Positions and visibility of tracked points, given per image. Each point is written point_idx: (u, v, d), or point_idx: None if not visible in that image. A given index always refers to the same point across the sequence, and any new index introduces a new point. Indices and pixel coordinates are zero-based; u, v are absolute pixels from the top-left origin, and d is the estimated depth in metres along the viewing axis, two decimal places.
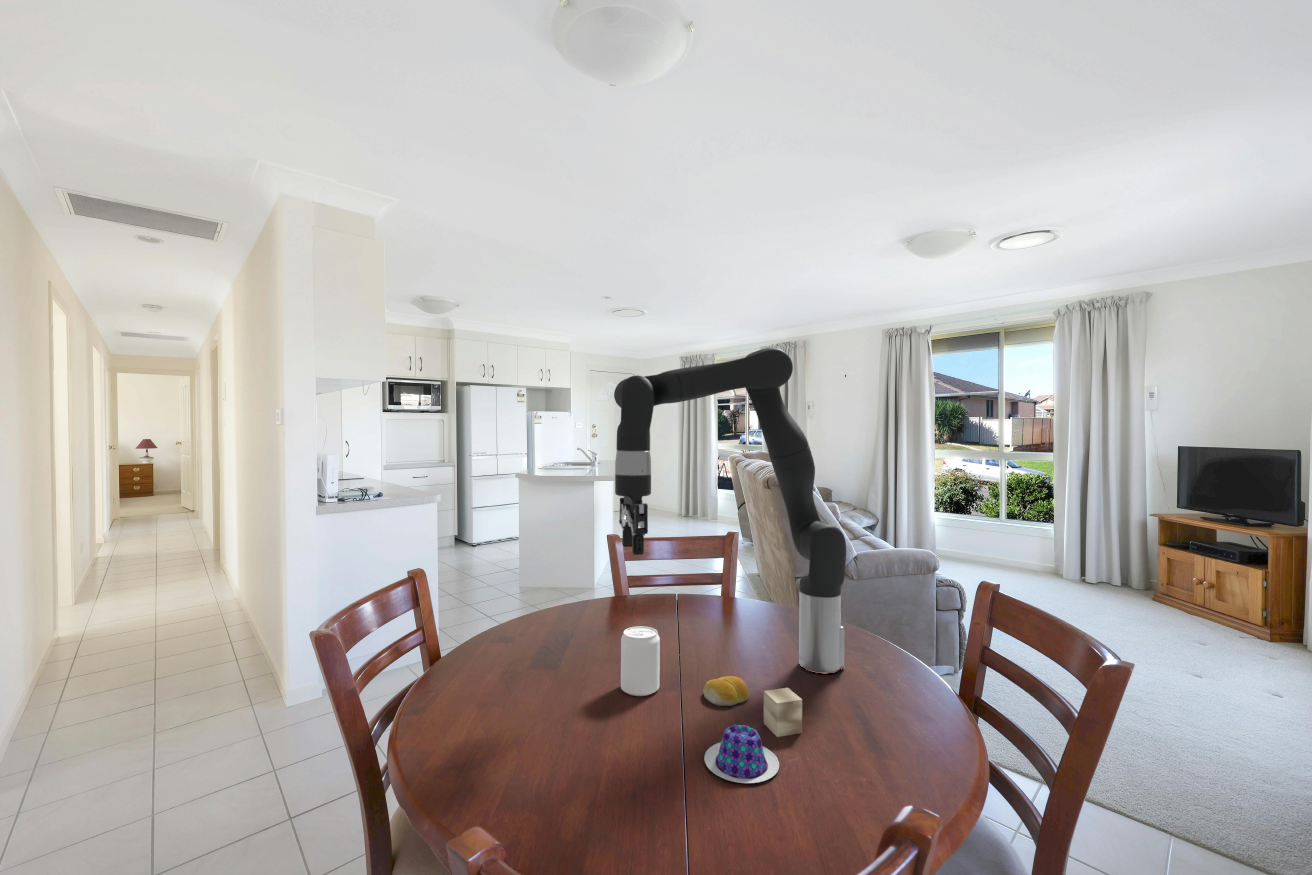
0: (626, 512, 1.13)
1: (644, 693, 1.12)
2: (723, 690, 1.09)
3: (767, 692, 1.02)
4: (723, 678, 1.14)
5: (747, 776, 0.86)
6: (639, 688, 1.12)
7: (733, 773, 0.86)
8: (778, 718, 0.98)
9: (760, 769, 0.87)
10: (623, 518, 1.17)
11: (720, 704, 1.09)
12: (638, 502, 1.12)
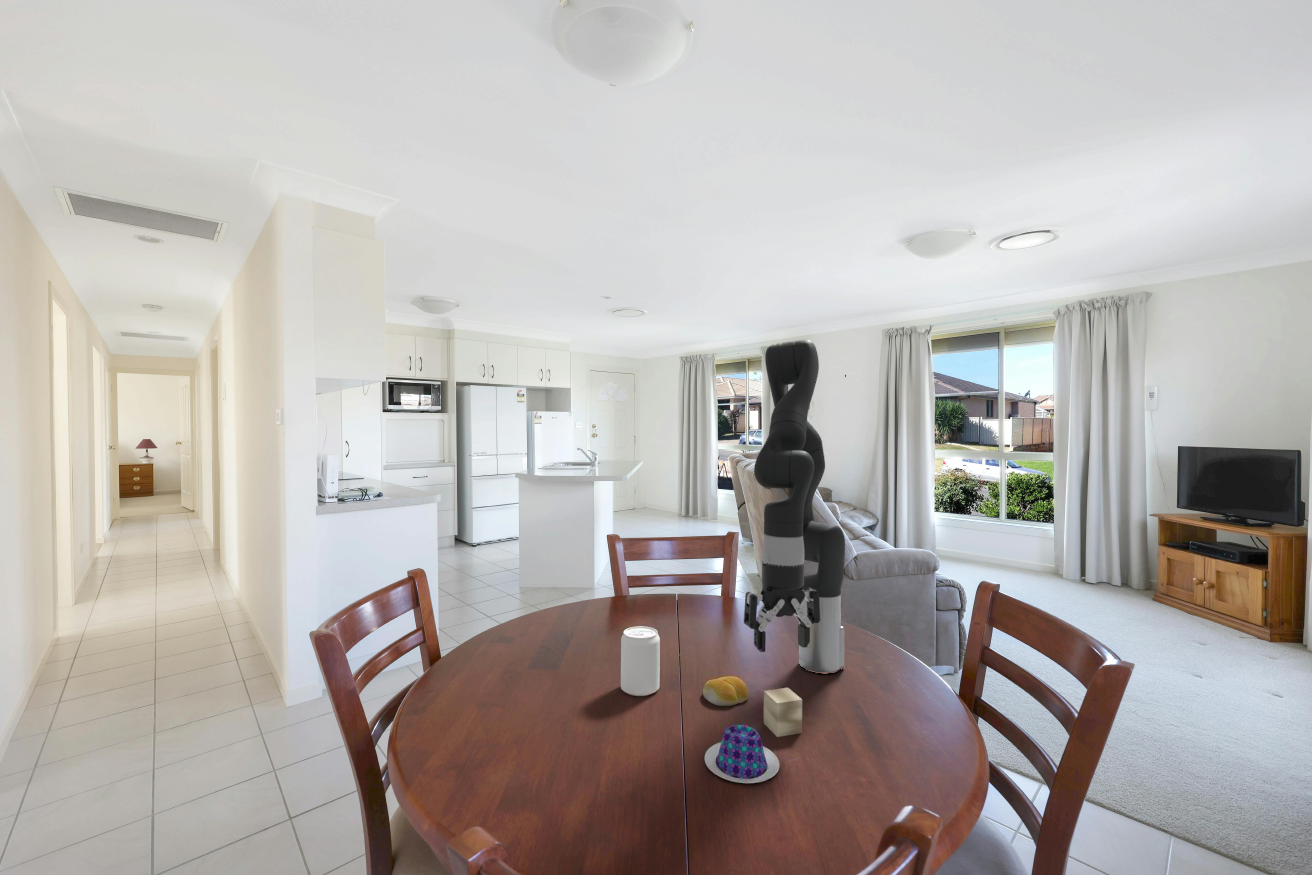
0: (796, 605, 1.00)
1: (644, 693, 1.12)
2: (723, 690, 1.09)
3: (767, 692, 1.02)
4: (723, 678, 1.14)
5: (748, 776, 0.86)
6: (639, 688, 1.12)
7: (734, 773, 0.86)
8: (778, 718, 0.98)
9: (761, 768, 0.87)
10: None
11: (719, 704, 1.09)
12: None
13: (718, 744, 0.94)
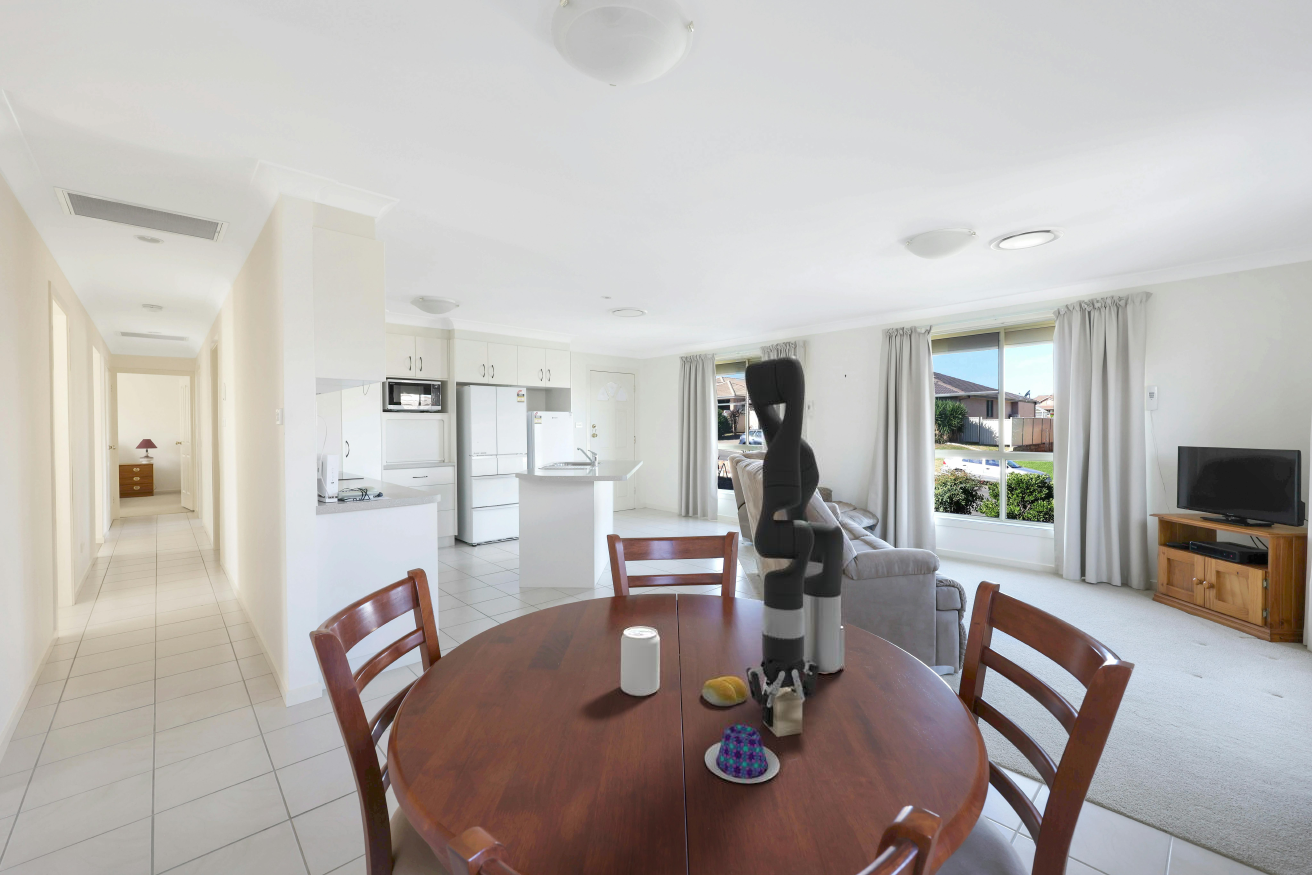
0: (796, 677, 0.99)
1: (644, 693, 1.12)
2: (722, 690, 1.09)
3: None
4: (722, 678, 1.14)
5: (750, 776, 0.86)
6: (639, 688, 1.12)
7: (736, 774, 0.86)
8: (778, 718, 0.98)
9: (762, 768, 0.87)
10: None
11: (719, 704, 1.09)
12: None
13: (717, 744, 0.94)
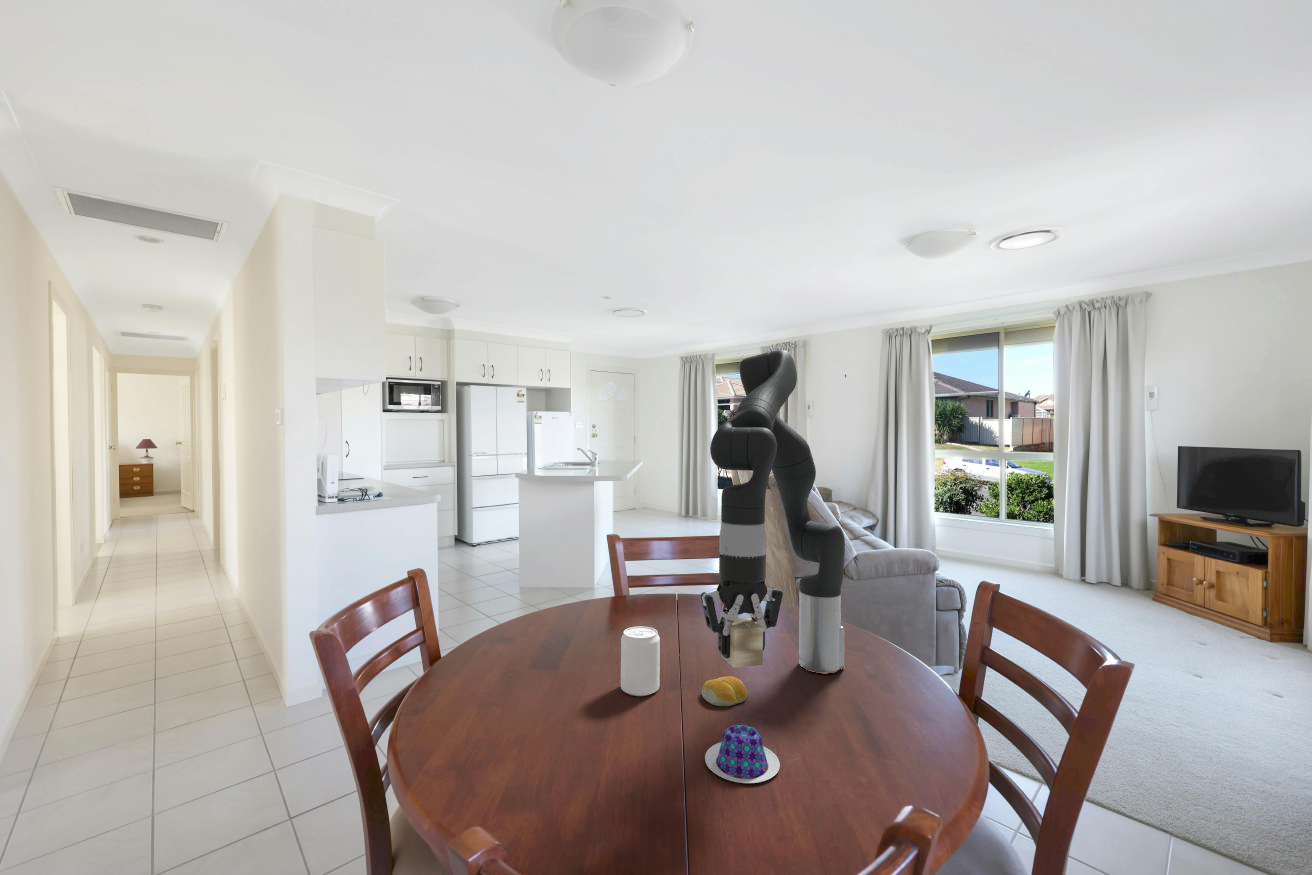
0: (756, 602, 0.89)
1: (644, 693, 1.12)
2: (721, 690, 1.09)
3: None
4: (721, 678, 1.14)
5: (751, 776, 0.86)
6: (639, 688, 1.12)
7: (737, 774, 0.86)
8: (735, 647, 0.87)
9: (763, 767, 0.87)
10: None
11: (718, 704, 1.09)
12: None
13: (716, 745, 0.94)
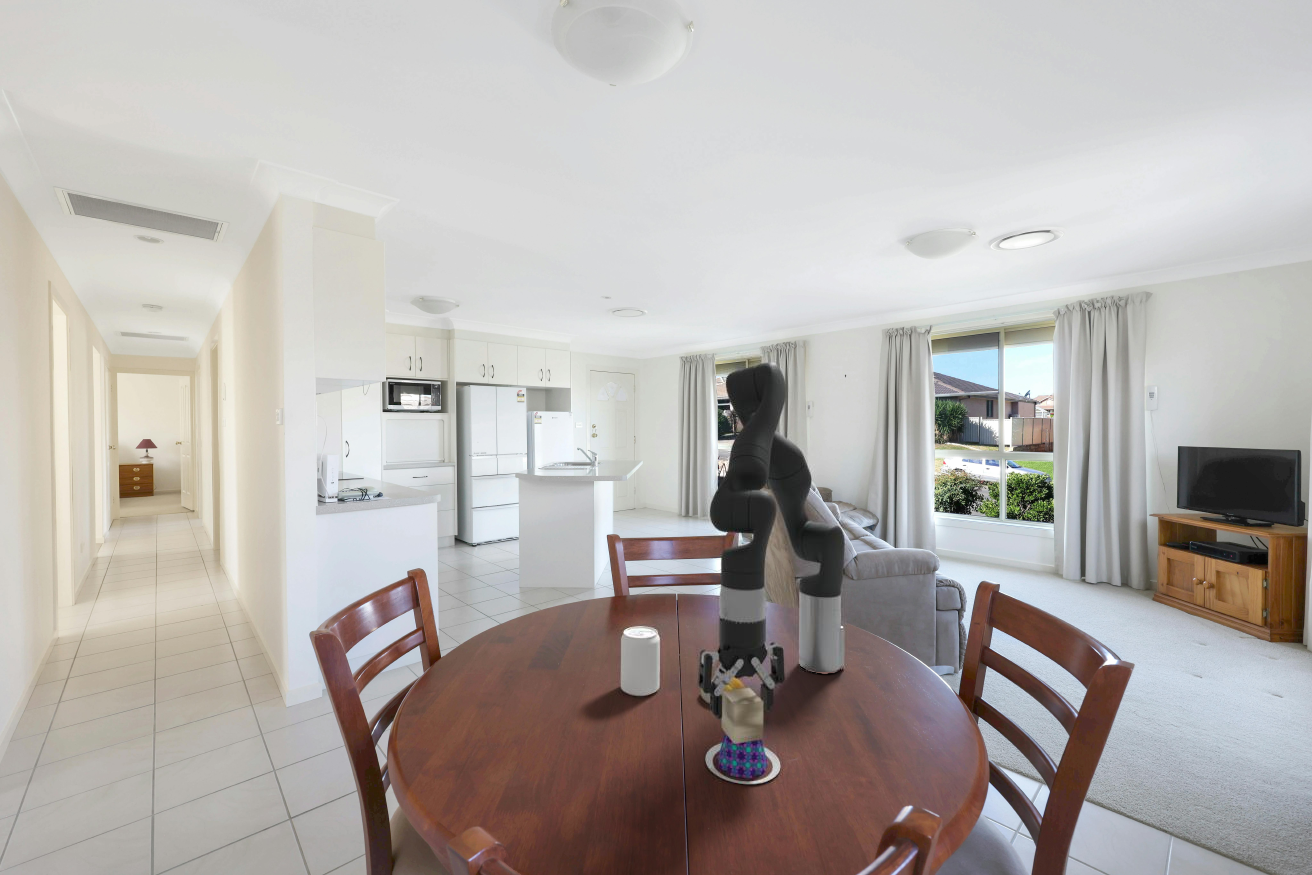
0: (757, 665, 0.88)
1: (644, 693, 1.12)
2: None
3: (725, 693, 0.91)
4: None
5: (753, 776, 0.86)
6: (639, 688, 1.12)
7: (739, 775, 0.86)
8: (735, 722, 0.87)
9: (764, 767, 0.87)
10: None
11: None
12: None
13: (715, 747, 0.94)
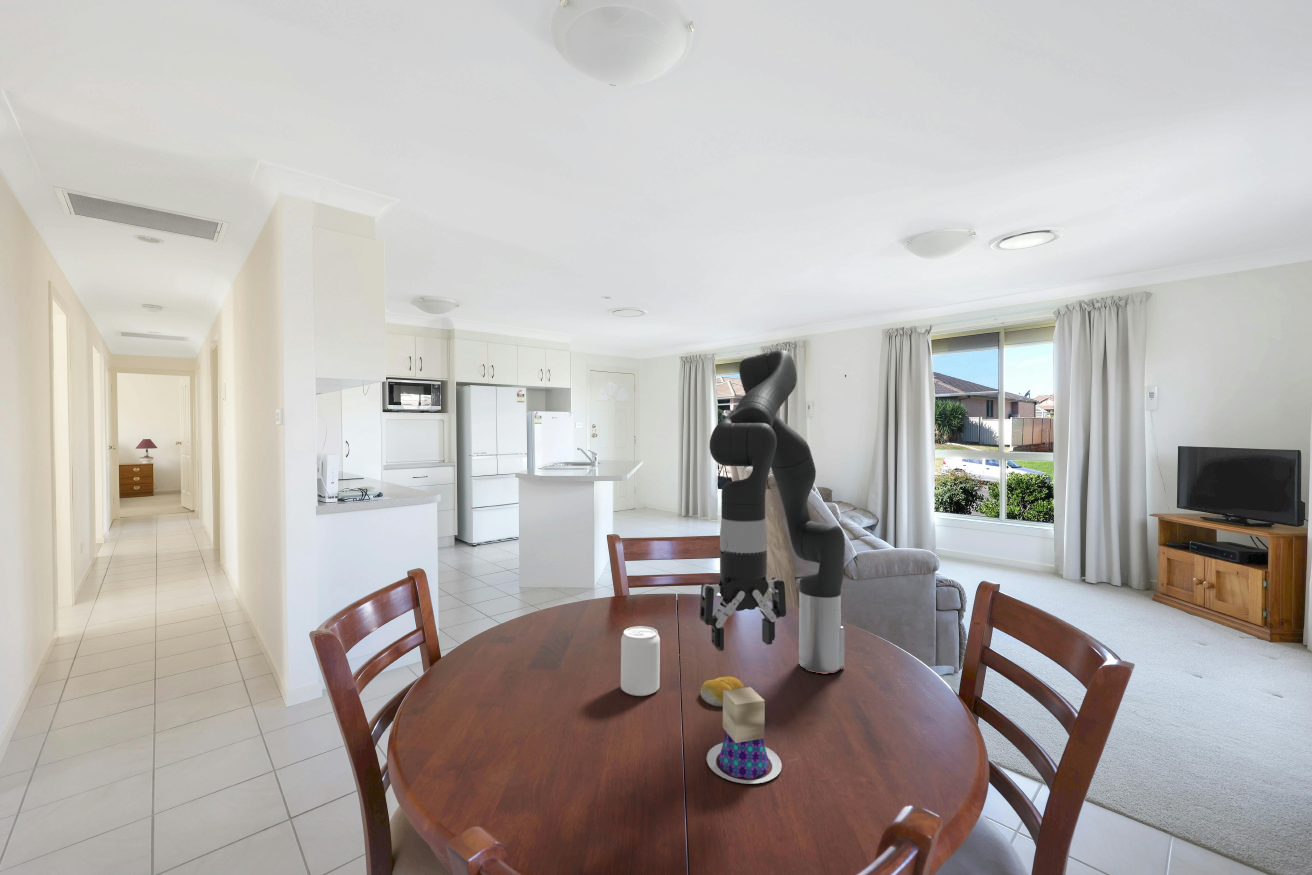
0: (759, 597, 0.88)
1: (644, 693, 1.12)
2: (720, 691, 1.09)
3: (726, 692, 0.91)
4: (720, 679, 1.14)
5: (755, 776, 0.86)
6: (639, 688, 1.12)
7: (741, 775, 0.86)
8: (736, 721, 0.87)
9: (765, 767, 0.87)
10: None
11: (717, 705, 1.09)
12: None
13: (716, 746, 0.94)
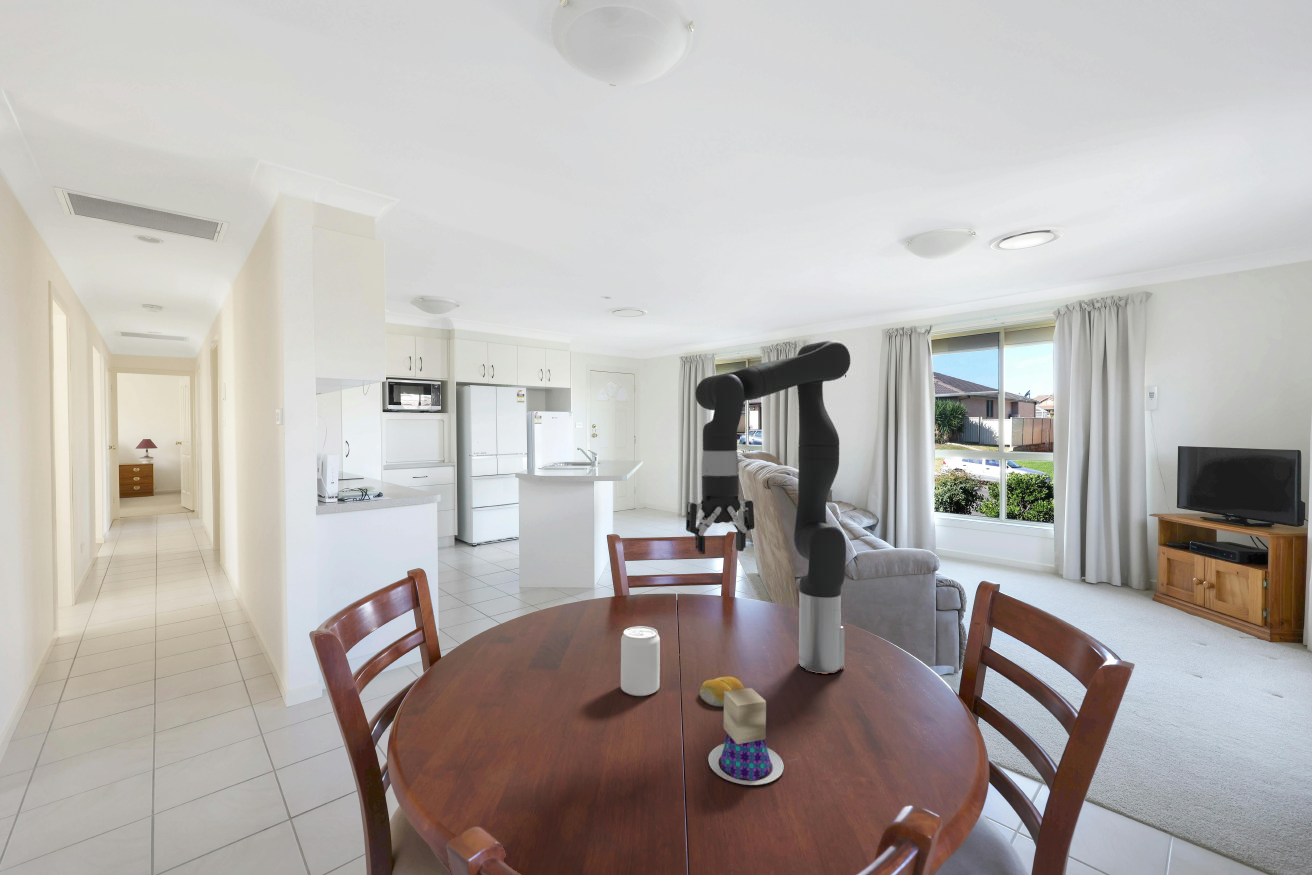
0: (732, 512, 1.12)
1: (644, 693, 1.12)
2: (720, 691, 1.09)
3: (727, 693, 0.90)
4: (720, 679, 1.14)
5: (757, 777, 0.86)
6: (639, 688, 1.12)
7: (743, 776, 0.86)
8: (738, 723, 0.86)
9: (767, 768, 0.87)
10: None
11: (717, 705, 1.08)
12: None
13: (717, 748, 0.93)
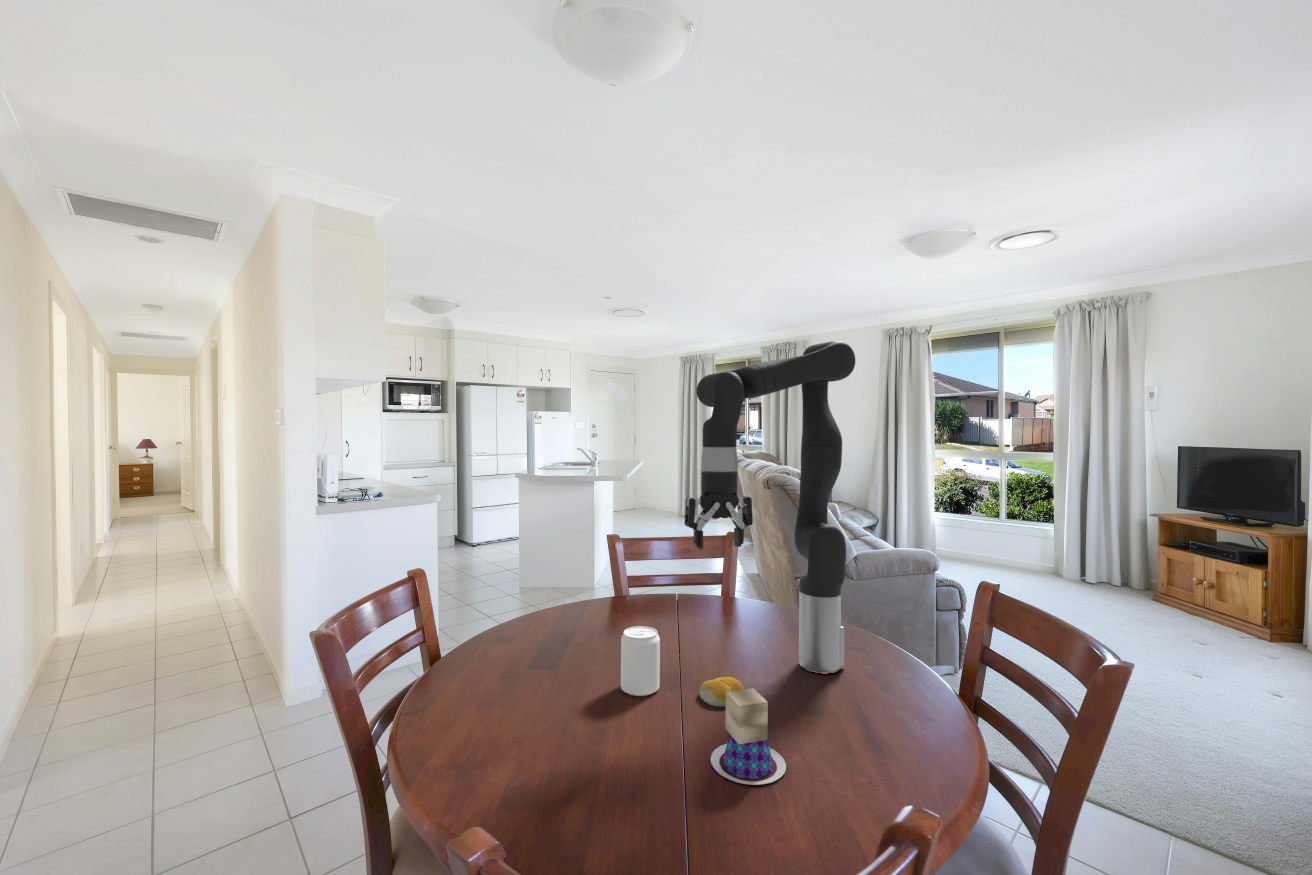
0: (731, 508, 1.13)
1: (644, 693, 1.12)
2: (719, 691, 1.09)
3: (729, 693, 0.90)
4: (719, 679, 1.14)
5: (759, 777, 0.86)
6: (639, 688, 1.12)
7: (745, 776, 0.86)
8: (740, 723, 0.86)
9: (770, 768, 0.87)
10: None
11: (716, 705, 1.08)
12: None
13: (720, 747, 0.93)
